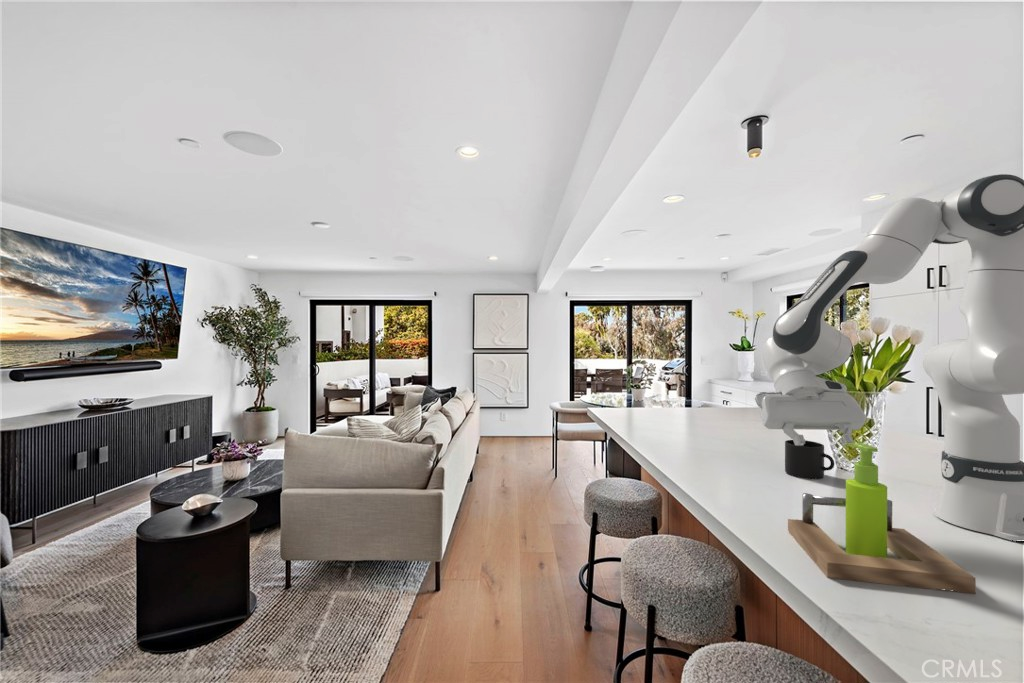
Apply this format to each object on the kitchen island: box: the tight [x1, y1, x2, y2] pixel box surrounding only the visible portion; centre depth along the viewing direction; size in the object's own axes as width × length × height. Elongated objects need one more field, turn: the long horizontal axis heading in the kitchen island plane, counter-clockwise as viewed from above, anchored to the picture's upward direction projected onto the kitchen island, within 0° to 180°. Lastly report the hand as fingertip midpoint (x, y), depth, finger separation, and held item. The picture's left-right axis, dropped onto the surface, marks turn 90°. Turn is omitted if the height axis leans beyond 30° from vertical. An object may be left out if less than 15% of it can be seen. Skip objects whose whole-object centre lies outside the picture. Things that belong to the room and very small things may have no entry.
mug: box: [784, 439, 835, 480], centre depth 127 cm, size 9×12×9 cm
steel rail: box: [801, 492, 893, 531], centre depth 87 cm, size 15×2×6 cm, turn 76°
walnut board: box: [787, 518, 977, 595], centre depth 80 cm, size 20×18×2 cm
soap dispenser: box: [844, 442, 888, 558], centre depth 81 cm, size 6×7×20 cm
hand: (824, 444), depth 94 cm, fingers open, 8 cm apart
